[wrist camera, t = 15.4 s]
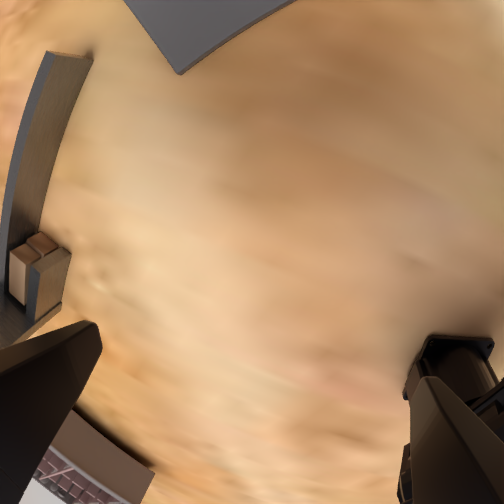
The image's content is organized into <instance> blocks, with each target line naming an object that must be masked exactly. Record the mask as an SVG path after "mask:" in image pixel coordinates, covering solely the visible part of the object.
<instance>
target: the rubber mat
mask: <svg viewBox="0 0 504 504" xmlns="http://www.w3.org/2000/svg"><path fill="white" fill-rule="evenodd" d="M294 1H296V0H124V2H125V3H126V4H127V6H128V7H129V8H130V10H131V11H132V12H133V14H134V15H135V16H136V18H137V19H138V21H139V22H140V23H141V25H142V26H143V27H144V29H145V30H146V31H147V33H148V34H149V36H150V37H151V38H152V40H153V41H154V43H155V44H156V45H157V47H158V48H159V49H160V51H161V52H162V54H163V55H164V56H165V58H166V59H167V61H168V62H169V63H170V65H171V66H172V68H173V69H174V71H175V72H176V73H177V74H179V75H182V74H183V73H184V72H186V71H187V70H188V69H190V68H191V67H192V66H194V65H195V64H196V63H198V62H199V61H200V60H202V59H203V58H204V57H206V56H207V55H209V54H210V53H211V52H213V51H214V50H216V49H217V48H219V47H220V46H221V45H223V44H224V43H226V42H227V41H229V40H230V39H232V38H233V37H235V36H236V35H238V34H240V33H241V32H243V31H244V30H246V29H247V28H249V27H251V26H252V25H254V24H255V23H257V22H259V21H260V20H262V19H264V18H265V17H267V16H269V15H271V14H272V13H274V12H276V11H278V10H279V9H281V8H283V7H285V6H287V5H289V4H290V3H292V2H294Z"/></svg>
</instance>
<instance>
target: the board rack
mask: <svg viewBox="0 0 504 504" xmlns="http://www.w3.org/2000/svg"><path fill="white" fill-rule="evenodd" d="M92 62H93V60H91V59H88V58H86V57H84V56H78V55H73V54H66V53H60V52H53V51H46V53H45V55H44V57H43V60H42V62H41V65H40V67H39V70H38V72H37V75H36V78H35V80H34V83H33V86H32V89H31V92H30V94H29V97H28V100H27V103H26V107H25V110H24V113H23V116H22V120H21V123H20V127H19V130H18V134H17V138H16V142H15V146H14V150H13V154H12V158H11V163H10V168H9V173H8V178H7V183H6V189H5V195H4V201H3V208H2V216H1V224H0V349H3V348H6V347H9V346H11V345H14V344H17V343H20V342H23V341H25V340H26V339H28V338H29V337H30V336H31V335H32V334H33V333H35V332H36V331H37V330H38V329H39V328H40V327H42V326H43V325H44V324H45V323H46V322H47V321H49V320H50V319H51V318H52V317H53V316H55V315H56V314H57V313H58V312H60V309H61V304H62V303H61V298H62V293H63V288H64V284H65V279H66V275H67V271H68V267H69V262H70V258H71V255H72V254H70V253H69V252H68V251H67V250H66V249H64V248H63V247H61V248H59V249H57V250H55V251H54V252H52V253H50V254H49V255H47V256H45V257H43V258H42V259H40V260H38V261H37V262H35V263H33V264H32V265H31V268H30V275H29V284H28V294H27V304H26V305H23V304H22V303H21V302H20V301H19V300H17V299H16V298H15V297H14V296H13V295H12V294H11V293H10V292H9V264H10V251H12V250H14V249H15V248H17V247H19V246H21V245H23V244H25V243H26V242H27V239H28V238H30V237H32V236H34V235H36V234H37V232H38V227H39V222H40V217H41V212H42V208H43V203H44V199H45V195H46V191H47V187H48V183H49V180H50V176H51V172H52V169H53V165H54V162H55V159H56V155H57V152H58V149H59V146H60V143H61V140H62V137H63V134H64V131H65V128H66V125H67V122H68V120H69V117H70V114H71V112H72V109H73V107H74V104H75V101H76V99H77V96H78V94H79V92H80V89H81V87H82V85H83V82H84V80H85V78H86V75H87V73H88V71H89V69H90V67H91V65H92Z"/></svg>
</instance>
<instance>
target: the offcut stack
mask: <svg viewBox="0 0 504 504" xmlns="http://www.w3.org/2000/svg"><path fill="white" fill-rule="evenodd" d="M57 249H58V245H56V244H55V243H54V242H53V241H52V240H50V239H49V238H48V237H47V236H46V235H45V234H43V233H42V232H40V233H38V234H36V235H34V236H32V237H30V238H28V239H27V242H26V243H25V244H23V245H21V246H19V247H17V248H15V249H14V250H12V251H10V264H9V292H10V293H11V294H12V295H13V296H14V297H15V298H16V299H17V300H19V301H20V302H21V303H22V304H23V305H26V304H27V294H28V284H29V275H30V268H31V265H32V264H33V263H35V262H37V261H38V260H40V259H42V258H43V257H45V256H47V255H49V254H50V253H52V252H54V251H55V250H57Z"/></svg>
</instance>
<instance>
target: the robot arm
mask: <svg viewBox="0 0 504 504" xmlns="http://www.w3.org/2000/svg"><path fill="white" fill-rule="evenodd" d="M432 341H434V342H433V343H431V342H432ZM494 345H495V343H494V341H493V339H492V338H476V337H456V336H440V335H431V336H429V337H428V338H427V339H426V341H425V343H424V346H423V348H422V351H421V353H420V355H419V358H418V359H417V360H416V361H415V363H414V365H413V367H412V370H411V372H410V374H409V376H408V379H407V381H406V383H405V389H404V391H403V394H402V395H403V399H404V400H409V405H410V443H408V444H407V445H405V446H404V450H403V457H402V464H401V470H400V476H399V482H398V490H397V497H398V498H399V502H400V504H504V378H502V379H501V380H502V381H501V382H499V381H498V379H497V377H496V375H495V373H494V371H493V369H492V367H491V365H490V363H489V361H488V358H489V356H490V354H491V352H492V350H493V348H494ZM102 348H103V347H102V341H101V337H100V333H99V329H98V326H97V324H96V323H94V322H91V321H87V320H82V321H79V322H77V323H74V324H71V325H68V326H65V327H63V328H60V329H57V330H54V331H51V332H48V333H46V334H43V335H40V336H37V337H34V338H31V339H29V340H26V341H23V342H20V343H17V344H14V345H11V346H9V347H6V348H3V349H0V504H19V502H20V500H21V498H22V496H23V494H24V491H25V490H26V488H27V486H28V484H29V482H30V480H31V478H32V477H33V475H34V473H35V471H36V469H37V468H38V466H39V464H40V462H41V460H42V459H43V457H44V455H45V453H46V452H47V450H48V448H49V446H50V445H51V443H52V441H53V439H54V438H55V436H56V434H57V433H58V431H59V429H60V427H61V426H62V424H63V422H64V421H65V419H66V417H67V416H68V414H69V412H70V411H71V409H72V408H73V406H74V404H75V403H76V401H77V399H78V398H79V396H80V394H81V393H82V391H83V389H84V387H85V385H86V383H87V381H88V379H89V377H90V375H91V373H92V371H93V369H94V367H95V365H96V363H97V361H98V359H99V357H100V355H101V353H102Z"/></svg>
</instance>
